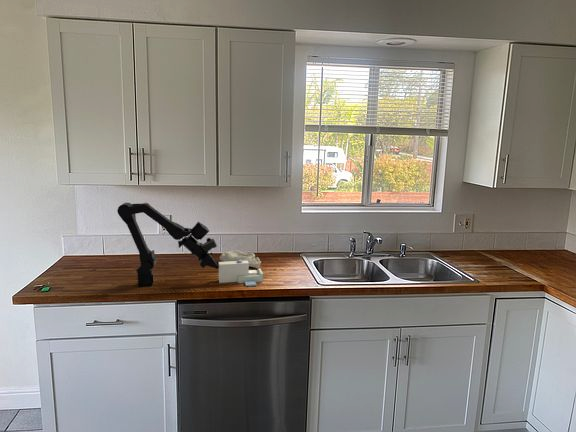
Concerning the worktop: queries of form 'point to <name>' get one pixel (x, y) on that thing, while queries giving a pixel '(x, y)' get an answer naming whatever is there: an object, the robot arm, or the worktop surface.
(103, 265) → the worktop surface
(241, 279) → the cradle
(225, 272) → the white stepped block
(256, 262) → the sculpture
